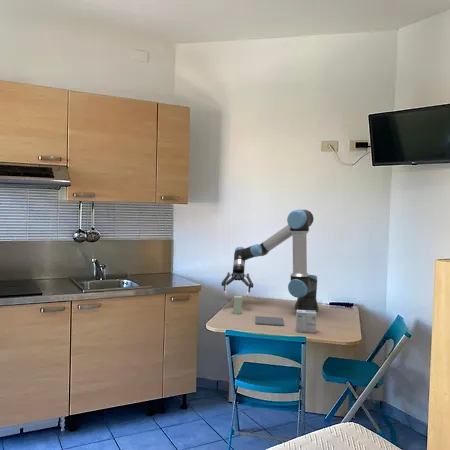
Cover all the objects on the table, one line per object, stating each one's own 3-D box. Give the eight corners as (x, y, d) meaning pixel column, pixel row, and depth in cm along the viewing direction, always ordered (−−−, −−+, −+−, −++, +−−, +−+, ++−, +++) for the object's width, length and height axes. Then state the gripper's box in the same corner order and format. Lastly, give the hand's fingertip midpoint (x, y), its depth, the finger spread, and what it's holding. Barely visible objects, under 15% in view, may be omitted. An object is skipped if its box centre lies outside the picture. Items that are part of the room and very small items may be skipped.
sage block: (241, 312, 287) (242, 296, 287) (241, 314, 282) (242, 297, 282) (233, 311, 288) (234, 295, 287) (233, 313, 283) (233, 297, 282)
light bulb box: (315, 329, 254) (316, 310, 253) (316, 333, 247) (317, 313, 246) (295, 328, 255) (296, 309, 254) (295, 331, 248) (296, 311, 247)
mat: (282, 319, 274) (282, 317, 274) (284, 326, 258) (284, 324, 258) (255, 317, 275) (255, 316, 275) (255, 324, 259) (255, 323, 259)
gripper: (257, 272, 306) (256, 299, 292) (219, 270, 308) (216, 297, 294) (258, 265, 301) (256, 293, 287) (219, 263, 303) (216, 290, 289)
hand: (236, 295), depth 290 cm, fingers open, 13 cm apart
